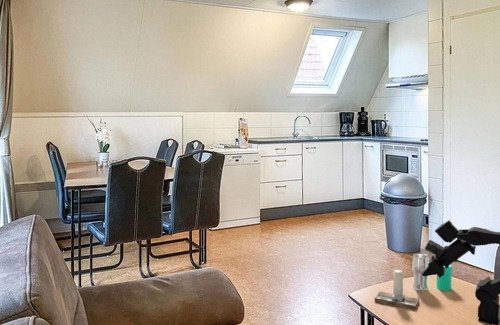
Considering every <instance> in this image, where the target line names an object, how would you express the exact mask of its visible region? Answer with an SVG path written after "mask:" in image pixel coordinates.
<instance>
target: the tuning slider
mask: <svg viewBox="0 0 500 325" xmlns="http://www.w3.org/2000/svg"><path fill="white" fill-rule="evenodd" d="M403 291H404V272H403V270H400V269H395V270H393V293H392V294H393V295H392V299H393V300H395V301H397V300H398V301H402V300H403V298H404V296H406V294H405V293H404V292H403Z"/></svg>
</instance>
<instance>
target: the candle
mask: <svg viewBox="0 0 500 325" xmlns="http://www.w3.org/2000/svg"><path fill="white" fill-rule="evenodd" d="M452 267H453V266H452V264H451V265H449V267H448V268H446V267H445V266H444V268H445V274H444V275H443V276H442V277H439V276H438V275H437V274H436V289H438V290H440V291H451V290H452V271H453V268H452Z"/></svg>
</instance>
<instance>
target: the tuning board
mask: <svg viewBox="0 0 500 325" xmlns="http://www.w3.org/2000/svg"><path fill="white" fill-rule="evenodd" d="M393 294H394V293H389V292H385V291H378V293H377V295H376V296H375V297H374V302H375V303H379V304H383V305H388V306H389V305H390V306H392V307H393V306H394V307H397V308H398V307H400V308H404V309H409V310H417V307H418V305H419V304H420V298H416V297H412V296H411V297H410V296H406V295H404V298H403V300H402V301H398V300H397V301H395V300H393V299H392V295H393Z"/></svg>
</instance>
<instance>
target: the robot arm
mask: <svg viewBox="0 0 500 325" xmlns="http://www.w3.org/2000/svg"><path fill="white" fill-rule="evenodd" d="M434 232H435V233H436V234H437V236H438V237H440V239H441V240H442V241H443V242H444V243H449V245H445V246H442V245H441V244H440V243H437V242H435V241H434V240H432V239H431V240H430V239H429V240H428V241H427V244H426V246H425V247H424V250H425V251H427V252H430V253H431V254H433V255H432V256H431V259H429V263H428V267H427V268H426V269H425V270H424V272H423V273H422V275H423V276H428V277H430V276H437V275H438V276H439V277H442V276H443V275H444V274H445V268H444V266H445V267H446V268H448V267H449V265H452V264H454V263H456V262H458V260H459V259H461V257H463V256H464V255H466V254H467V253H469V252H470V253H471V254H472V255H474V256H475V254H476V248H477V246H487V245H493V244H494V245H500V231H494V230H493V231H492V230H489V229H486V228H482V227H478V226H471V227H470V228H469V229H466V228H465V229H458V228H457V227H456V226H455V225H454V224H453V223H452V221H451V220H447V221H446V222H444V223H441V224H440V225H439V226H438V227H437V228H435V230H434ZM474 294H475V297H476V300H478V301H479V305H478V307H477V317H478V319H477V320H478V322H481V323H484V324H489V325H499V324H500V296H499V295H500V277H499V278H496V279H491V277H490V276H487V277H486V278H484V279H481V280H478V283H477V285H476V287H475V292H474Z"/></svg>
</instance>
